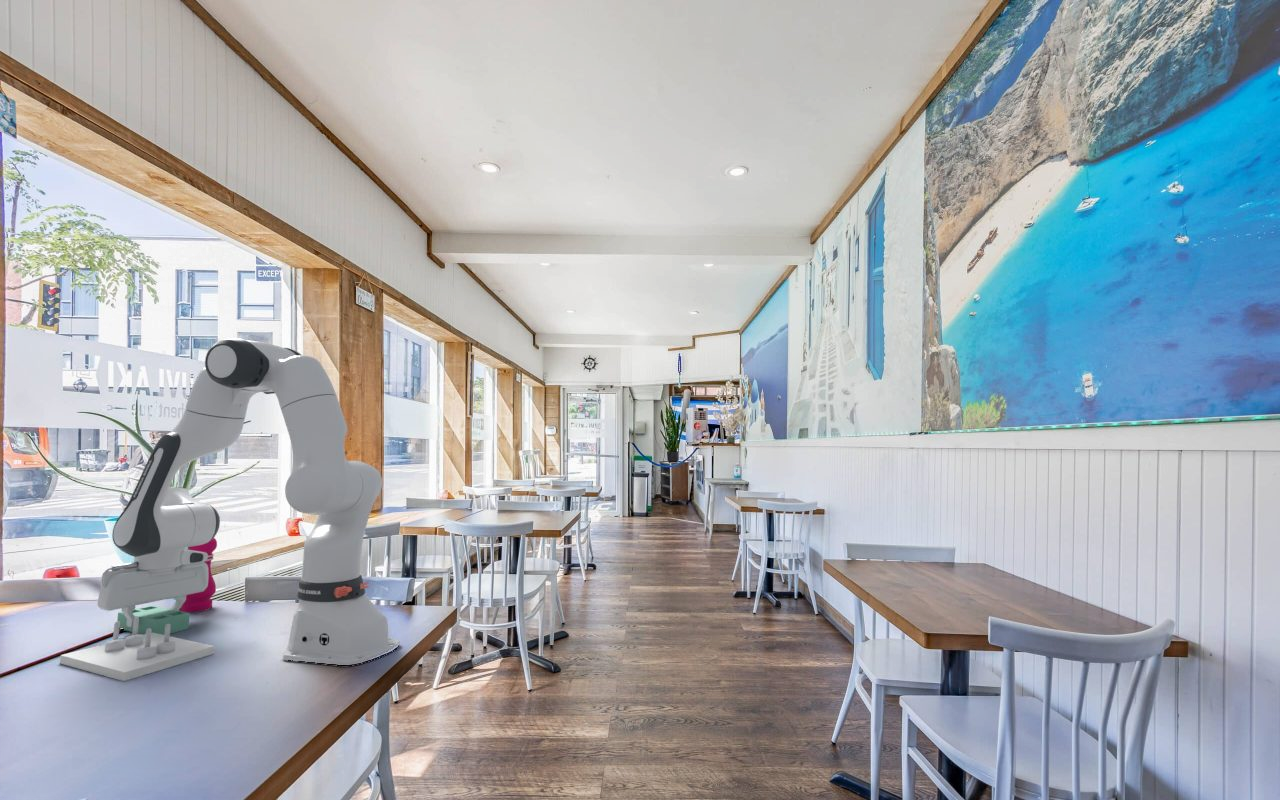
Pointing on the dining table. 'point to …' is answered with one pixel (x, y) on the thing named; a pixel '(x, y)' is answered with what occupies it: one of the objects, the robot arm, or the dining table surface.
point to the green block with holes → (156, 620)
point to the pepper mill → (202, 599)
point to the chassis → (136, 654)
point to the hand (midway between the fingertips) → (153, 620)
